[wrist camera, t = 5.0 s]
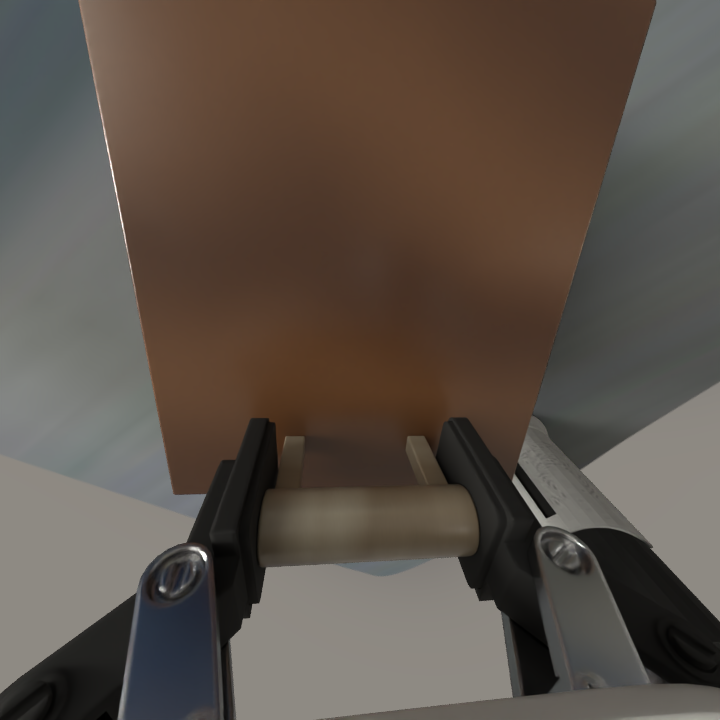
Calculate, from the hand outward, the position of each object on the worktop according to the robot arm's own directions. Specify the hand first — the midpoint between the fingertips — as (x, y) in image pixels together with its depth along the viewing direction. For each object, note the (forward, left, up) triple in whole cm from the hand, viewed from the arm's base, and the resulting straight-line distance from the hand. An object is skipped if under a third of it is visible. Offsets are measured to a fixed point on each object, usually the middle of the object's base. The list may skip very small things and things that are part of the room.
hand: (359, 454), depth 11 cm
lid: (0, -5, -2) cm, 5 cm away
